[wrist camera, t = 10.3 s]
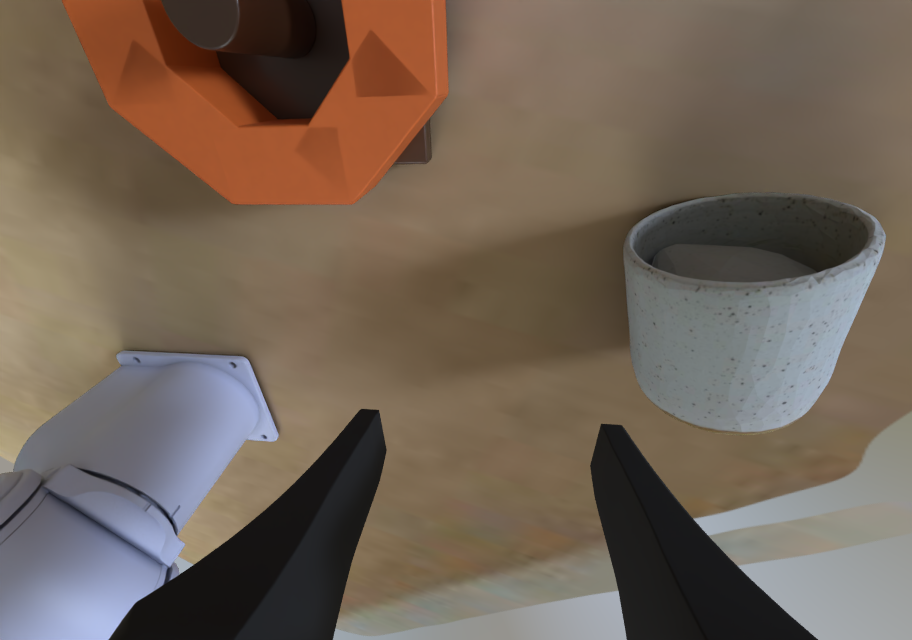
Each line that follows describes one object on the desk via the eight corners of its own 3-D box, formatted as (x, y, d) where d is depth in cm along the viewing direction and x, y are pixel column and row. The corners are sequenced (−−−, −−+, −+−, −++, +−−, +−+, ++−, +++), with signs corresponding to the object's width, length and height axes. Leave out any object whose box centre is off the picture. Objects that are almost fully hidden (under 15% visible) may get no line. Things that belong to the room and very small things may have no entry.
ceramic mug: (616, 354, 22) (667, 468, 15) (602, 219, 18) (662, 297, 11) (831, 317, 20) (997, 433, 13) (871, 152, 16) (1138, 203, 9)
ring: (202, 187, 18) (153, 205, 16) (51, -215, 12) (-74, -297, 9) (451, 186, 17) (442, 205, 14) (436, -265, 10) (415, -376, 8)
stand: (229, 160, 18) (121, 192, 13) (129, -149, 13) (-118, -301, 8) (431, 159, 17) (401, 192, 12) (414, -177, 12) (345, -374, 7)
